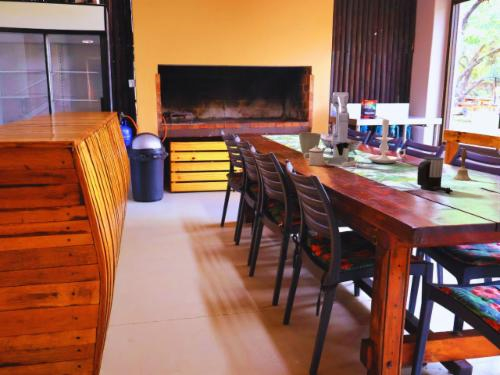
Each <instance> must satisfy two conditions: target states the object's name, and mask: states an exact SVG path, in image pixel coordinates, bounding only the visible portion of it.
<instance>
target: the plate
mask: <svg viewBox="0 0 500 375" xmlns="http://www.w3.org/2000/svg"><path fill="white" fill-rule="evenodd" d="M349 153H350V148H348V147H347V148H344V149H343V154H342V155H339V153H338V149H337V147H336V157H338V158H346V159H347V162H348V157H349Z"/></svg>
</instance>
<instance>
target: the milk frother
mask: <svg viewBox="0 0 500 375" xmlns="http://www.w3.org/2000/svg"><path fill="white" fill-rule="evenodd" d="M444 160H445V158H444V157H441V156H423V161H421V162H419V164H418V166H417V180H416V183H417V185H418V186H420V188H419V189H422V190H425V191H434V192H435V191H441V192H445V194H450V193H452V192H453V191H454V190H452V189H451V188H450V187H443V186H442V177H443V170H444V169H443V168H444Z"/></svg>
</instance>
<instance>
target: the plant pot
mask: <svg viewBox="0 0 500 375" xmlns="http://www.w3.org/2000/svg"><path fill="white" fill-rule="evenodd" d="M321 136H322V134H321V133H317V132H302V133H301V132H300V133H298V138H299V139H298V140H299V145H300V150H301V153H302V156H303V157H304V154H305V153H309V150H310V149H312V148H315V146H318V147H319V145H320V142H321ZM305 158H306V159H307V158H308V159H309V154H306V155H305Z"/></svg>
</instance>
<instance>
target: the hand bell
mask: <svg viewBox="0 0 500 375" xmlns="http://www.w3.org/2000/svg"><path fill="white" fill-rule="evenodd" d="M467 152H468V151H467V149H466V148H462V151H461V155H460V158H461V166H460V168H458V170H457V173H456V175H455V176H454V177H453V178H452V179H453V180H455V181H461V182H463V181H464V182H469V181H472V179H471V177H470V176H469V172H468V168H466V160H467V156H468V153H467Z"/></svg>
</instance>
